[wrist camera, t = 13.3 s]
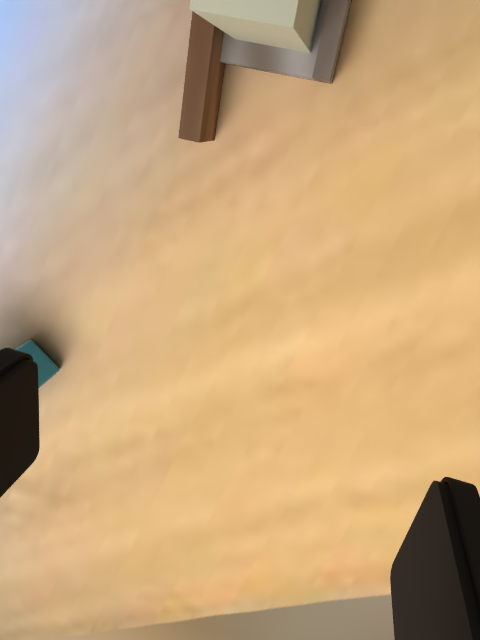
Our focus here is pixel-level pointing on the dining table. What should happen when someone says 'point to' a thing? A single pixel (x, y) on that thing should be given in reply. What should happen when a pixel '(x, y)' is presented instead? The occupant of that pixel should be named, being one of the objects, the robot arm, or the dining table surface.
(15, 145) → the dining table surface
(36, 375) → the robot arm
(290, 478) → the dining table surface
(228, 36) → the board
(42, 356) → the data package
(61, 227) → the dining table surface
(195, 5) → the slotted sage box
